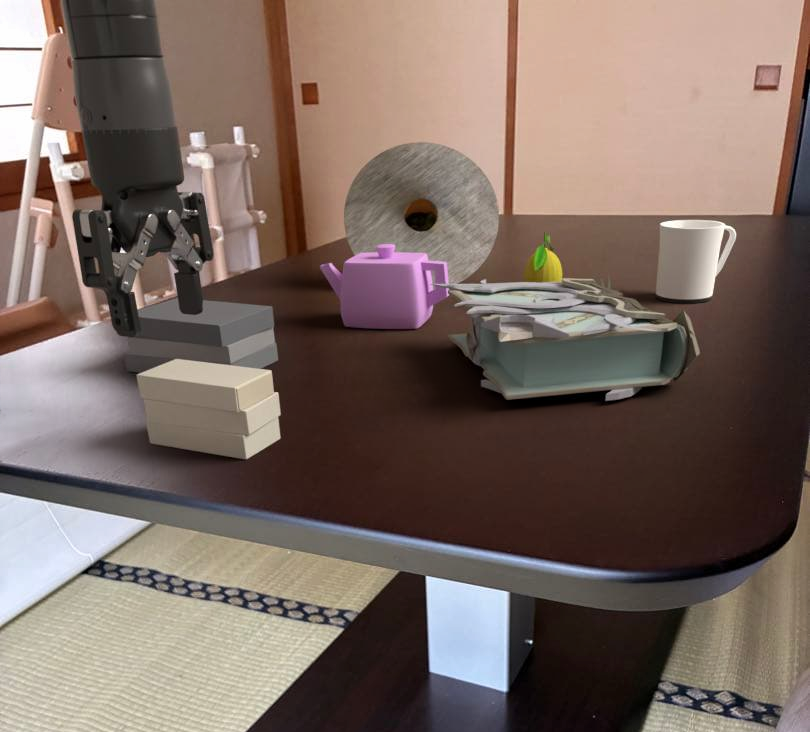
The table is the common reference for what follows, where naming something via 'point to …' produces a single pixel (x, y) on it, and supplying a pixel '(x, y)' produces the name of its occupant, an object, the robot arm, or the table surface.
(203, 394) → the cream rectangular block
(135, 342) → the grey stack
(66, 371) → the table surface
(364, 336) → the table surface
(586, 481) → the table surface
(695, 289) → the mug
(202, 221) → the robot arm
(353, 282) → the teapot
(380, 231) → the disc
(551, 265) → the lemon
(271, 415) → the cream lidded box
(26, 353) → the table surface
